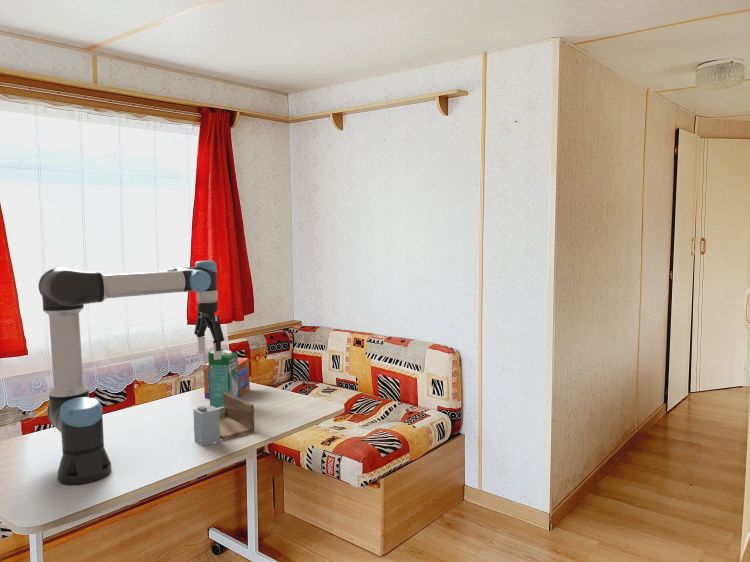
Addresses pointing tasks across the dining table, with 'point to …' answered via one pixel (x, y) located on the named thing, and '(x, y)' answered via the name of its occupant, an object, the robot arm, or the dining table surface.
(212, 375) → the milk carton
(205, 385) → the game box
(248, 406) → the brown wooden l-shaped piece
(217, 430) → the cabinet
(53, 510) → the dining table surface
